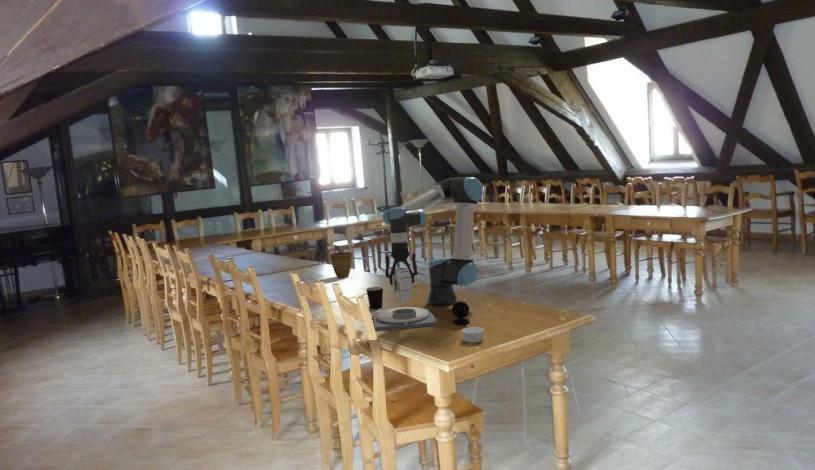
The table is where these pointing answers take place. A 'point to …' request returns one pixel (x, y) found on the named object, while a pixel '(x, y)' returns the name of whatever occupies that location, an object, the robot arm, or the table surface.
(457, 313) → the webcam
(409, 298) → the syrup box
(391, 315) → the grey round plate
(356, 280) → the table surface
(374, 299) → the black cup
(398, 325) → the base
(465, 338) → the ramekin
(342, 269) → the plant pot
